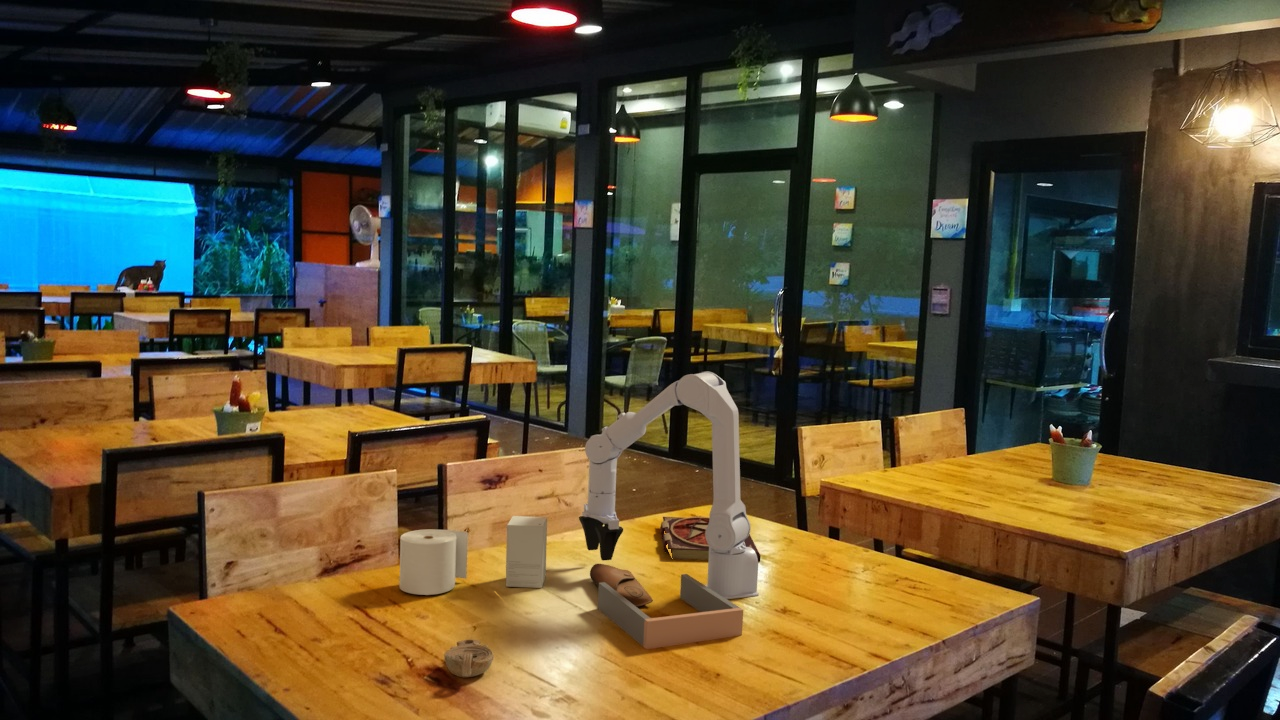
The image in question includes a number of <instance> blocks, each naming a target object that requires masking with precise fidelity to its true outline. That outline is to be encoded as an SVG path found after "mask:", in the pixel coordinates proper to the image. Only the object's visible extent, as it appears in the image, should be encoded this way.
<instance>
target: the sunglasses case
mask: <svg viewBox="0 0 1280 720" xmlns="http://www.w3.org/2000/svg"><path fill="white" fill-rule="evenodd" d="M589 577H590V579H591V581H592V582H593V583H594V584H595V585H596V586H597V587H598V589H599V583H602V582H605V583H606V584H608V585H609V586H610V587H612V588H613V589H614V590H615V591H617V592H618V593H619V594H621V595H622V596H623V597H624V598H626V599H627V600H628V601H629V602H631V603H632V604H633V605H635V606H636V607H637V608H639V607H642V606H646V605H649V604H650V603H652V602H653V601H654V600H653V598H652V596H651V595H650V593H648V591H647V590H646V589H645V588H644V586H642V584H641V583H640V582H639V581H638V579H637V578H636V577H635V576H634V574H633V573H632V571H630V570H628V569H620V568H619V567H615V566H614V565H613V566H612V565H609V564H605V563H595V564H593V565H592V566H591V568H590V571H589Z"/></svg>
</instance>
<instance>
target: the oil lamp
mask: <svg viewBox="0 0 1280 720" xmlns="http://www.w3.org/2000/svg"><path fill="white" fill-rule="evenodd" d="M481 643H482V642H481V640H480V639H479V640H477V639H471V638H470V639H464V640H461V641H457V642H456V646H450V649H448V650H446V651H445V652H444V654H443V657H444V658H443V659H444V662H445V665H446V668H447V669H448V671H449V672H450V673H451V674H452V675H454V676H457V677H459V678H473V677H476V676H477V677H478V676H479V675H482V674H484V673H486V672H487V671H488V670H489V668H491V665H492V663H493V660H494V652H493V651H492V649H490V648H489V645H488V644H487V645H486V644H483V645H482V644H481Z"/></svg>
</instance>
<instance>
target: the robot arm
mask: <svg viewBox="0 0 1280 720" xmlns="http://www.w3.org/2000/svg"><path fill="white" fill-rule="evenodd" d="M682 405H684V406H686V407H688V408H690V409H693V410H695V411H698V412H700V414H702V415H703V416H704V417H706V418H707V419H708V420H709V421H710V422H711V443H712V444H711V445H712V446H711V448H712V485H713V489H712V492H713V501H712V505H711V508H710V511H709V514H708V515H709V516H708V517H709V524H708V526H707V528H706V532H705V537H706V541H707V543H708V544H709V560H707V561H708V562H707V563H708V564H707V579H706V580H707V583H706V584H704V585H705V586H707V587H708V588H710V589H711V590H713V591H714V592H716V593H718V594H719V595H721V596H722V597H724V598H725V599H727V600H732V599H733V600H734V599H740V598H750V597H758V596H759V592H758V579H759V578H758V574H759V562H758V558H757V555H756V552H755V551H754V550H753V549H752V548H750V547H746V545H745V542H744V540H745V539H746V538H747V537H748V536H749V534H750V533H751V527H752V526H751V523H750V520H749V518H748V515H747V511H746V510H747V508H746V505H745V503H744V502H743V501H742V500H741V469H740V468H741V467H740V466H741V464H740V463H741V462H740V459H741V458H740V428H739V427H740V426H739V424H740V422H739V419H740V418H739V415H740V414H739V409H738V407H737V405H736V403H735V401H734V400H733V398H732V396H731V394H730V393H729V390H728V388H727V383H726V381H725V380H723V378H721V377H720V376H718V375H717V374H716V373H715V372H712V371H701V372H699V373H694V374H693V373H690V374H686V375H683V376H682V377H681V378H680V379H679V380H676V381H674V382H673V383H671V384H669V385H668V386H667V387H666V388H664V390H662V391H661V392H660V393H659V394H658V395H656V396H655V397H654V398H653V399H652V400H650V401H649V402H648V403H647V404H646V405H644V406H643V407H642V408H641V409H639V410H638V411H637V412H634V411H628V412H626V413H625V412H621V413H619V414H618V415H617V418H618V419H617V420H615V421H614V422H613V423H612V424H610V425H609V426H604V427H603V428H601V431H602V432H601V433H600V434H594V435H590V437H589V438H588V440H586V443H585V446H584V451H585V452H584V453H585V455H586V458H588V460H589V461H588V462H589V463H588V464H589V468H588V487H587V488H588V489H587V490H588V491H587V503H584V504H583V511H582V513H581V516H579V517H578V521H579V522H580V525H581V526H582V527H581V528H582V530H583V533H584V539H585V543H586V548H587V550H588V551H595V550H596V551H597V550H599V554H600V559H601V561H603V562H604V561H612V560H613V557H614V556H613V555H614V553H615V549H616V545H617V543H618V541H619V539H620V536H622V534H623V532H624V527H622V526H620V519H619V518H618V517H617V512H616V488H617V486H616V485H617V468H618V467H617V466H618V459H619V458H620V456H621V455H622V454H623V451H625V450H626V449H627V448H629V447H630V446H631V445H633V443H635V442H637V441H638V440H639V439H640V438H642V437H643V436H644V435H645V434H646V431H647V426H648V425H649V424H650V423H652V422H653V421H655V420H656V419H658V418H659V417H661V416H662V415H663V414H665V413H666V412H668V411H669V410H671V409H672V408H673V407H675V406H682ZM750 535H751V534H750Z"/></svg>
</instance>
